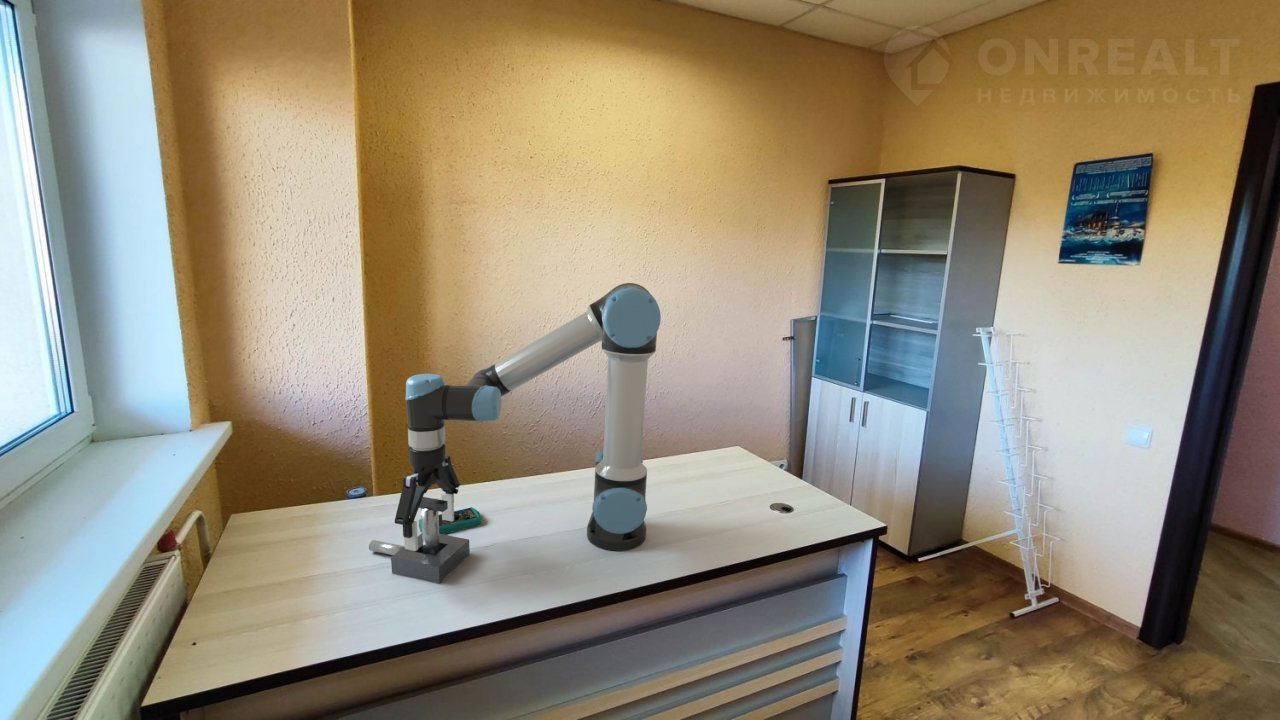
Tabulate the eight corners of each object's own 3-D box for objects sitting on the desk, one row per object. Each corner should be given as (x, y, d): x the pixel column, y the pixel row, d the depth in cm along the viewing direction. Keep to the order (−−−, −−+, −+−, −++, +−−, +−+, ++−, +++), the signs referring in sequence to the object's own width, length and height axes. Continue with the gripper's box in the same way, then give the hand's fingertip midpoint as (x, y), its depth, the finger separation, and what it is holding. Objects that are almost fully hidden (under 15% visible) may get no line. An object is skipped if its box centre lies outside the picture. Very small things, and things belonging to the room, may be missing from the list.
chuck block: (469, 554, 135) (469, 539, 134) (439, 583, 123) (438, 567, 122) (390, 539, 140) (389, 524, 139) (354, 565, 129) (352, 549, 128)
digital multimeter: (484, 526, 149) (483, 516, 148) (424, 541, 141) (424, 530, 140) (475, 514, 155) (475, 504, 154) (417, 528, 147) (417, 517, 146)
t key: (451, 562, 131) (449, 499, 128) (442, 571, 128) (440, 506, 124) (421, 556, 133) (418, 493, 130) (411, 564, 130) (408, 500, 126)
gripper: (445, 425, 137) (448, 506, 142) (371, 463, 114) (378, 559, 118) (473, 429, 135) (475, 511, 140) (404, 468, 112) (409, 566, 116)
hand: (430, 533), depth 129 cm, fingers open, 13 cm apart
